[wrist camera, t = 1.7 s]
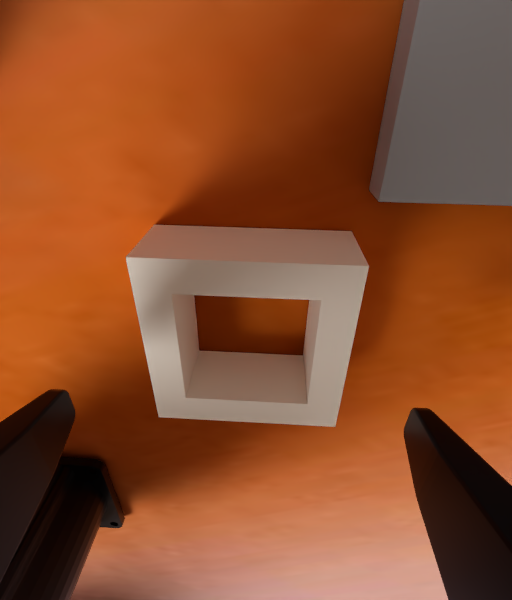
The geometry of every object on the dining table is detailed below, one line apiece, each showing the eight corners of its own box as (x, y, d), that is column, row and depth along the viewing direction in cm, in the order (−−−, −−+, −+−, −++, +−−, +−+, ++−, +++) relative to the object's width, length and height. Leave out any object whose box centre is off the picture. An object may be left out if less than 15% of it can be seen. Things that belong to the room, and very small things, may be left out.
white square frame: (326, 376, 14) (335, 426, 12) (175, 369, 15) (158, 417, 13) (351, 231, 11) (368, 266, 9) (154, 224, 11) (125, 257, 9)
